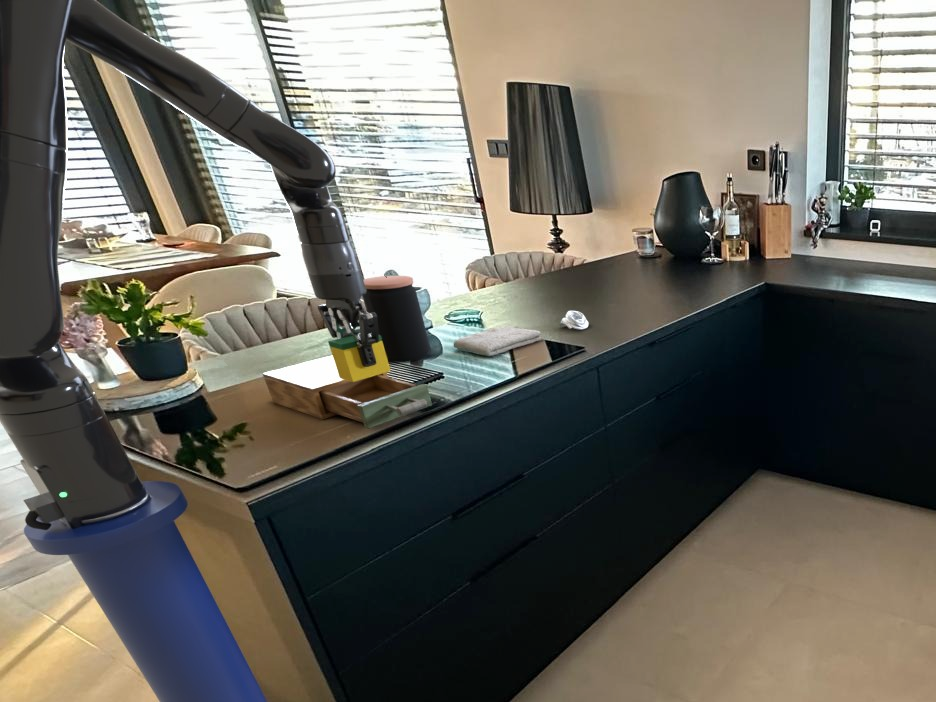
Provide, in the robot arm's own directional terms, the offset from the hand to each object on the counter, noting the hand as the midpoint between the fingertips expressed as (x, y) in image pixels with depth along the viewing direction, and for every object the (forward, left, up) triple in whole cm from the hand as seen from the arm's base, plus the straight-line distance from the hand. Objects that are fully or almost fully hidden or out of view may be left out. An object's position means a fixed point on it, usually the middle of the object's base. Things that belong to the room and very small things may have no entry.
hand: (362, 363), depth 115 cm
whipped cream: (+63, +11, -10) cm, 65 cm away
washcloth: (+41, +15, -10) cm, 45 cm away
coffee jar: (+24, +27, -10) cm, 38 cm away
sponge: (0, 0, -2) cm, 2 cm away
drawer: (0, -2, -9) cm, 9 cm away
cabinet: (0, +14, -10) cm, 17 cm away
